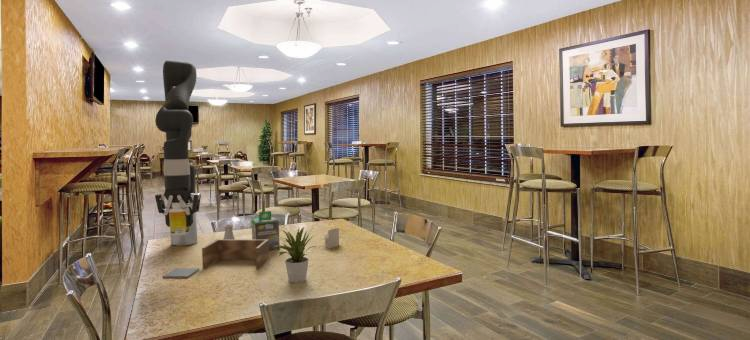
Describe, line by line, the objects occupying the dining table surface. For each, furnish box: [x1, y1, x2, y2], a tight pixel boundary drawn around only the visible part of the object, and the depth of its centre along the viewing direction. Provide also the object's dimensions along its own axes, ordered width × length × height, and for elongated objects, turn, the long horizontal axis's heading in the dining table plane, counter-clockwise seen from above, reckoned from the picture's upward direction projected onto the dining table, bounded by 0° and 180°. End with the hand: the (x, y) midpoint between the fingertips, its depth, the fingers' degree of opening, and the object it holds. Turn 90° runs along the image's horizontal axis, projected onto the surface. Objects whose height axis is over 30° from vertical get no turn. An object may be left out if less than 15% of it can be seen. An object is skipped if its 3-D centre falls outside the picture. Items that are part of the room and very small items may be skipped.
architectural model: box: [322, 227, 341, 249], centre depth 173 cm, size 3×7×7 cm, turn 138°
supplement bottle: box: [169, 203, 189, 236], centre depth 138 cm, size 6×6×10 cm
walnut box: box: [201, 239, 270, 270], centre depth 150 cm, size 19×12×7 cm, turn 88°
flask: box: [222, 224, 236, 240], centre depth 166 cm, size 7×7×10 cm
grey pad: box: [162, 267, 200, 279], centre depth 139 cm, size 8×8×1 cm
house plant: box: [274, 226, 317, 283], centre depth 133 cm, size 14×14×16 cm
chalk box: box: [250, 210, 281, 252], centre depth 169 cm, size 9×9×15 cm
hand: (179, 226), depth 138 cm, fingers closed on supplement bottle, 5 cm apart
